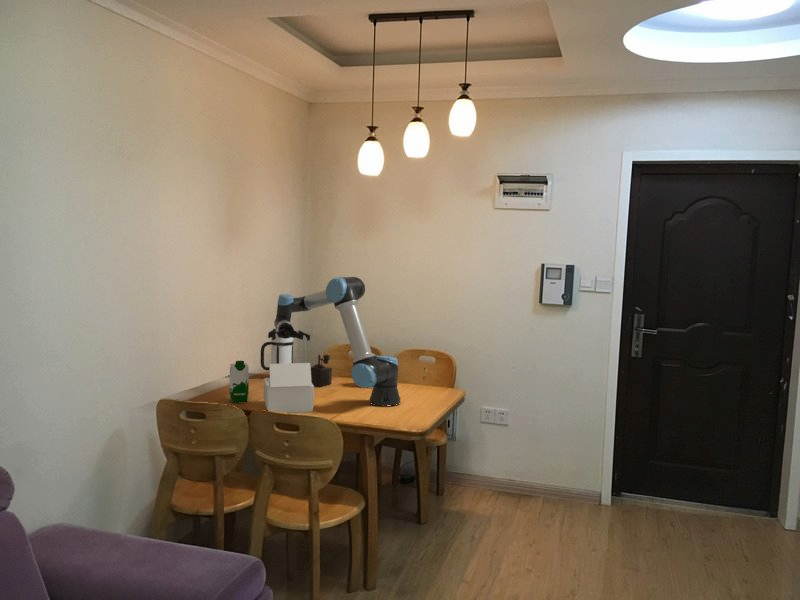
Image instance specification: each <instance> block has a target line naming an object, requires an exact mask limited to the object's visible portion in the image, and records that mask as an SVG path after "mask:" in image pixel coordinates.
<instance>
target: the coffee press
mask: <svg viewBox="0 0 800 600" xmlns="http://www.w3.org/2000/svg"><path fill="white" fill-rule="evenodd" d="M295 339H296V338H292V337H290V338H282V337H279V338H278V343H276V341H275V339H274V340H272V339H271V340H270V341H266V342H264V343H263V344H261V348H260V367H261V368H262V369H263V370H264V371H270V367H269V366H265V348H266V347H267V346H271V348H270V349H271V352H270V353H271V354H270V355H271V360H270V364H286V363H294V361H293V360H294V340H295ZM269 377H270V374H269Z"/></svg>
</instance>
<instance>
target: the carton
mask: <svg viewBox="0 0 800 600" xmlns="http://www.w3.org/2000/svg"><path fill="white" fill-rule="evenodd" d="M314 400H315V386H314V385H313V384H312V386H298V387H271V388H270V377H263V401H264V406H265V408H266V411H267V410H268V411H275V412H287V413H288V414H307V413H308V412H309V413H313V411H314V403H315V401H314ZM268 411H267V412H268ZM309 413H308V414H309Z"/></svg>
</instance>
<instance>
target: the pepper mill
mask: <svg viewBox="0 0 800 600" xmlns="http://www.w3.org/2000/svg"><path fill="white" fill-rule="evenodd" d="M317 359H318V362H317V363H316V364H314V365H313V366H311V381H312V384H313V385H314V388H315V387H316V388H322V387H323V386H324V387H326V386H327V385H328V386H330V384H331V385H332V378H333V377H332V376H333V375H332V373H333V371H332V370H333V368H332V367H329V366H325V365H328V364H329V361H330V360H331V356H330V355H329V354H324V355H323V357H321V354H318V357H317ZM321 361H322V363H323V364H322V363H321ZM324 364H325V365H324ZM324 387H323V388H324Z"/></svg>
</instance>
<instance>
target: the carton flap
mask: <svg viewBox="0 0 800 600" xmlns="http://www.w3.org/2000/svg"><path fill="white" fill-rule="evenodd" d="M268 365H269V366H268V367H270V370H269V375H270V376H269V378H270V388H271V387H298V386H312V381H311V367H312V366H311V362H296V363H295V362H293V363H286V364H271V363H269V364H268Z"/></svg>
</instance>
